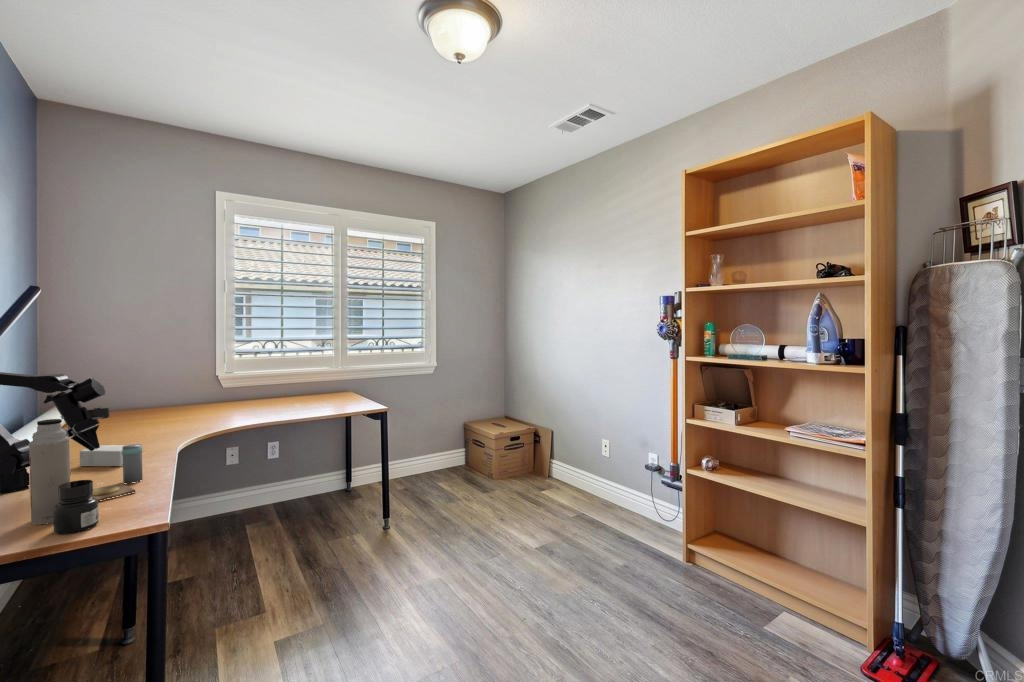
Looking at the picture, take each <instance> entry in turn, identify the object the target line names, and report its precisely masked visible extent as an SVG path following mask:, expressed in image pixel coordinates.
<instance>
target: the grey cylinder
mask: <svg viewBox="0 0 1024 682" xmlns="http://www.w3.org/2000/svg"><path fill="white" fill-rule="evenodd" d="M122 455H123V466H122V477H123V478H122V483H123V482H124V483H132V482H137V481H140V480H142V481H143V444H142V443H131V444H126V446H123V448H122ZM124 483H123V484H124Z"/></svg>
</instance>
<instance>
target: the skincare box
mask: <svg viewBox="0 0 1024 682" xmlns="http://www.w3.org/2000/svg"><path fill="white" fill-rule="evenodd" d="M99 445H100V448H98V449H95V450H93V451H90V450H88V449H87V448H84V449H81V450H80V451H79V467H81V466H121V467H123V455H122V448H123V446H126V445H127V444H126V445H125V444H123V445H122V444H121V445H119V444H117V445H110V444H108V445H106V444H103V445H102V444H99Z"/></svg>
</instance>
